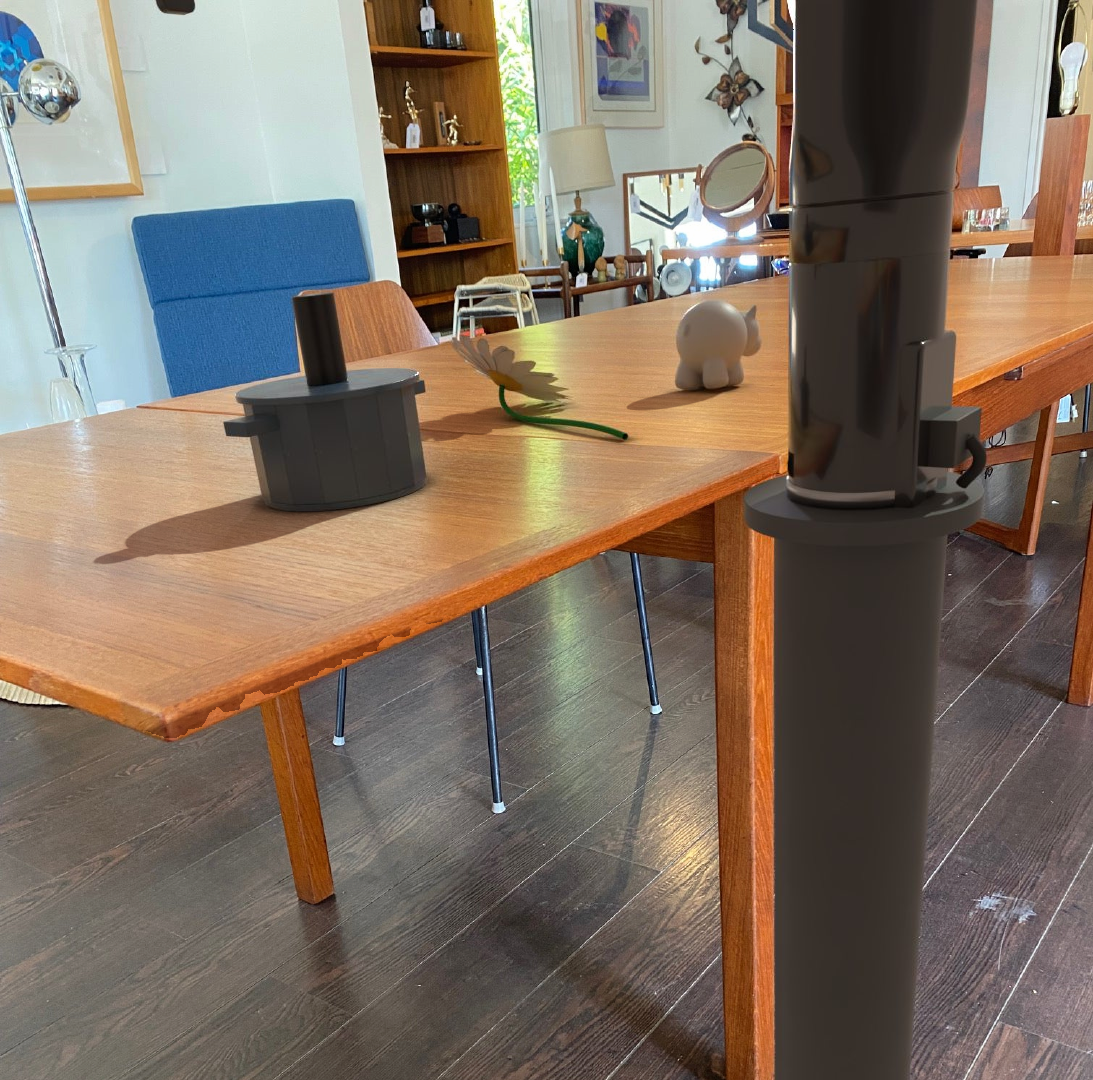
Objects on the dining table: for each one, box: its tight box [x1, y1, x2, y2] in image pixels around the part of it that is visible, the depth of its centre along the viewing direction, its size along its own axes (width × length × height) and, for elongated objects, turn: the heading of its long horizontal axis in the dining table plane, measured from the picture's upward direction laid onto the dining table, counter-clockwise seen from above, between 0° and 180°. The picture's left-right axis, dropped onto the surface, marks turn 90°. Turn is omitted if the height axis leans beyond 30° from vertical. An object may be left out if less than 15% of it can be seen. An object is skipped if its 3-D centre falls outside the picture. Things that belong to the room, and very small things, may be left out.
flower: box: [451, 334, 629, 441], centre depth 101 cm, size 13×6×30 cm
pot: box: [222, 379, 428, 512], centre depth 80 cm, size 12×18×8 cm
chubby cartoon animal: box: [674, 299, 763, 391], centre depth 110 cm, size 7×12×8 cm, turn 134°
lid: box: [234, 291, 420, 406], centre depth 77 cm, size 13×13×7 cm
